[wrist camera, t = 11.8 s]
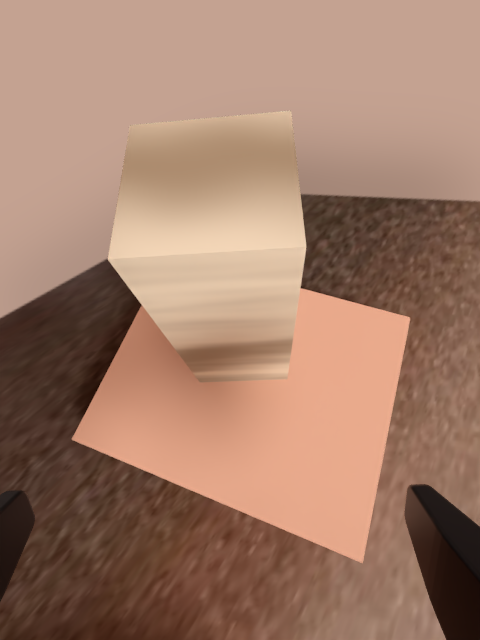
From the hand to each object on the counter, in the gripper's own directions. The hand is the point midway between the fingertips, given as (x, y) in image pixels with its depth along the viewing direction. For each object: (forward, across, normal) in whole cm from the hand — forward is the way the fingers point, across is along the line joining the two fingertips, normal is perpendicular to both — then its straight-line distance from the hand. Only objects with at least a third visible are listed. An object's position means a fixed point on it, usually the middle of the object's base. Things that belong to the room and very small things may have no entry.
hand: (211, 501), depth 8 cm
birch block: (+13, 0, +2) cm, 13 cm away
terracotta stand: (+14, 0, +5) cm, 15 cm away
